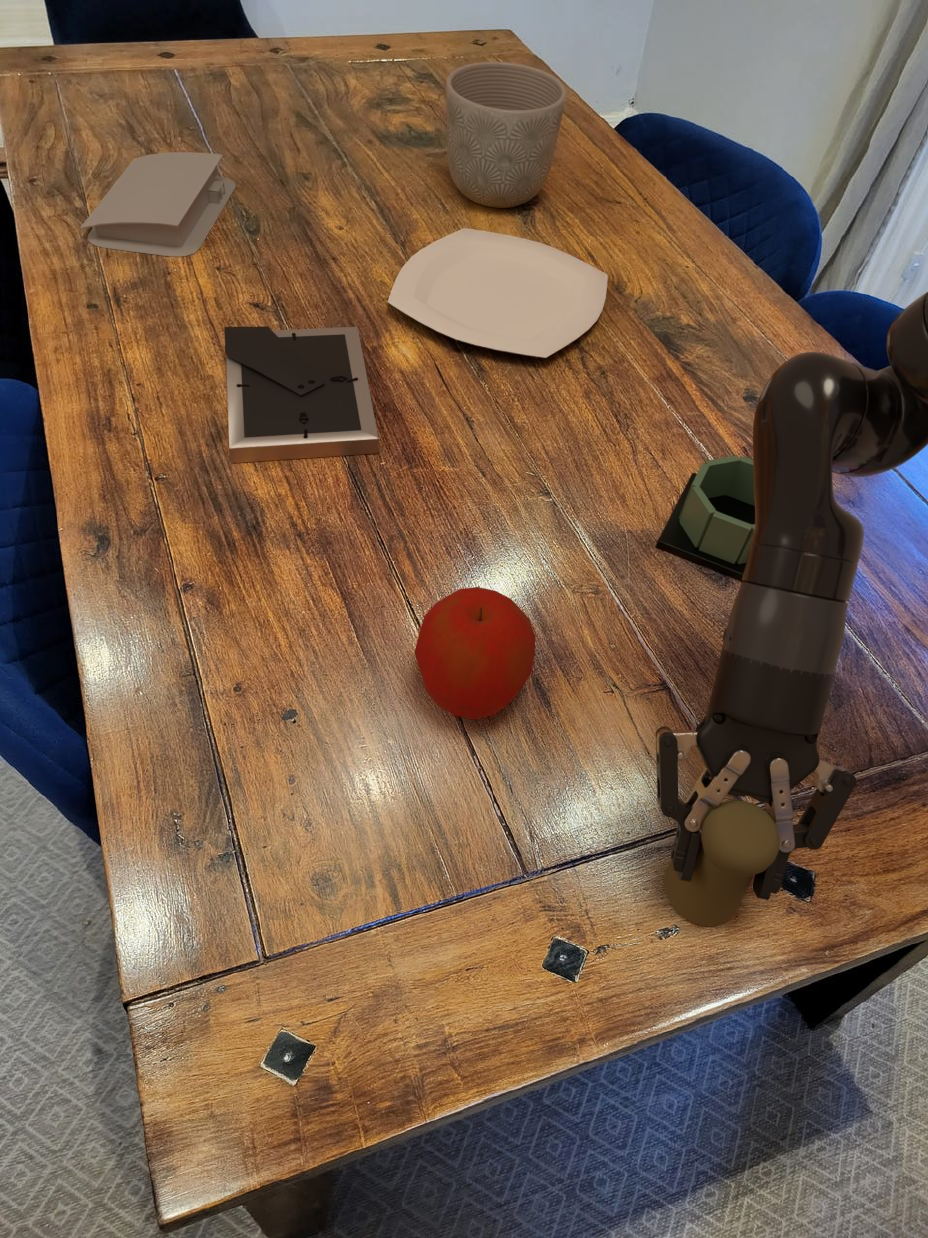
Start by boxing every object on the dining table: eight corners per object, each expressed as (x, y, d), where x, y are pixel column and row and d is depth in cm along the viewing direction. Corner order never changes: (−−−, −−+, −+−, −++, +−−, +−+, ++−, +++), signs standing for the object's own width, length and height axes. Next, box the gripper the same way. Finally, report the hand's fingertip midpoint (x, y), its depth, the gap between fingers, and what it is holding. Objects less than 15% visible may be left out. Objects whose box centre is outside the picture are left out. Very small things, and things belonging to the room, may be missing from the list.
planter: (417, 186, 134) (421, 76, 122) (497, 157, 141) (507, 51, 130) (494, 233, 127) (506, 122, 115) (573, 200, 134) (592, 93, 123)
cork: (714, 943, 65) (764, 888, 56) (648, 888, 67) (686, 827, 59) (755, 886, 68) (809, 826, 59) (691, 835, 70) (733, 770, 62)
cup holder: (795, 518, 94) (817, 477, 90) (768, 592, 88) (789, 552, 83) (690, 478, 97) (706, 436, 92) (655, 547, 90) (670, 505, 86)
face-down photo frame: (227, 347, 106) (231, 463, 93) (224, 326, 103) (227, 442, 91) (358, 341, 108) (378, 453, 96) (357, 320, 106) (378, 433, 94)
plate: (454, 227, 127) (455, 214, 125) (628, 284, 121) (631, 270, 119) (360, 317, 111) (359, 304, 110) (554, 387, 105) (557, 374, 104)
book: (240, 179, 131) (237, 152, 128) (192, 259, 117) (187, 231, 114) (139, 166, 131) (133, 138, 128) (80, 244, 117) (71, 216, 114)
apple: (517, 747, 75) (536, 670, 65) (402, 724, 75) (404, 645, 66) (532, 653, 81) (551, 570, 72) (425, 632, 81) (431, 548, 72)
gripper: (683, 641, 57) (626, 885, 59) (905, 687, 56) (839, 933, 58) (667, 628, 65) (618, 845, 67) (863, 668, 64) (807, 887, 66)
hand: (721, 885), depth 62 cm, fingers closed on cork, 5 cm apart
